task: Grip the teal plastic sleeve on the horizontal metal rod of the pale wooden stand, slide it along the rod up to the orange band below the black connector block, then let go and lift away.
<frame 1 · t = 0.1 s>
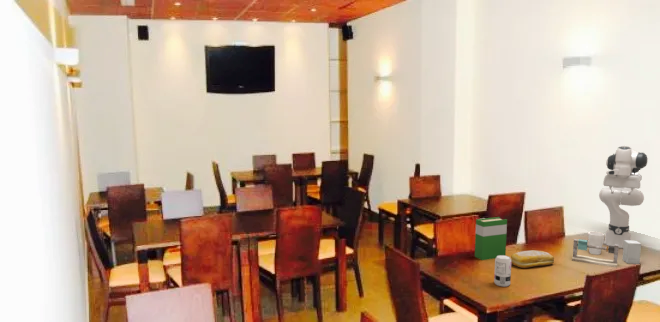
hand: (620, 194, 317), 39 cm above the table, tool pointing down, fingers open, 8 cm apart
green cereal box: (489, 257, 317), on the table
supplement can: (502, 284, 271), on the table
foam cup: (594, 253, 325), on the table
supplement box: (630, 262, 308), on the table
bread: (531, 265, 303), on the table
sleeve: (582, 244, 310), point 10 cm above the table, slide at 0.0 cm
rail stand: (594, 261, 308), on the table
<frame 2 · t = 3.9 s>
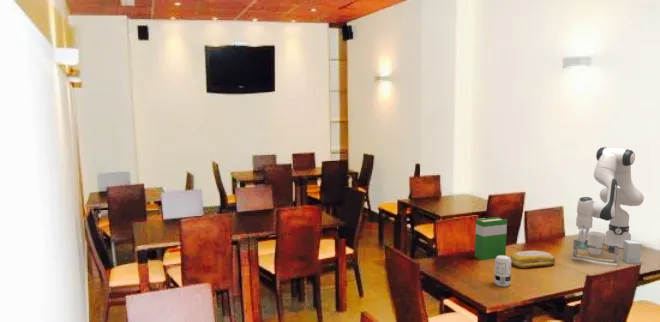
hand: (582, 245, 310), 9 cm above the table, tool pointing down, fingers closed on sleeve, 4 cm apart
sleeve: (582, 244, 310), point 10 cm above the table, slide at 0.0 cm, touching gripper
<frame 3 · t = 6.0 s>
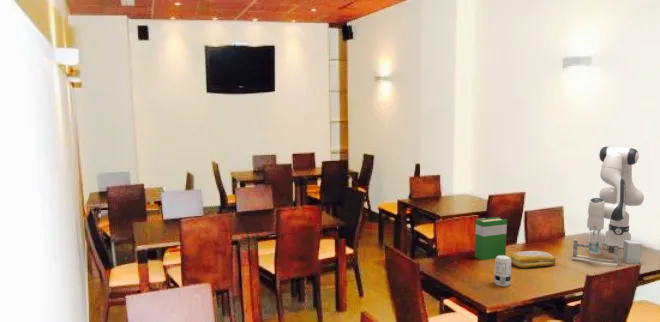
hand: (593, 247, 307), 9 cm above the table, tool pointing down, fingers closed on sleeve, 4 cm apart
sleeve: (593, 246, 307), point 10 cm above the table, slide at 6.1 cm, touching gripper
everything else where it was.
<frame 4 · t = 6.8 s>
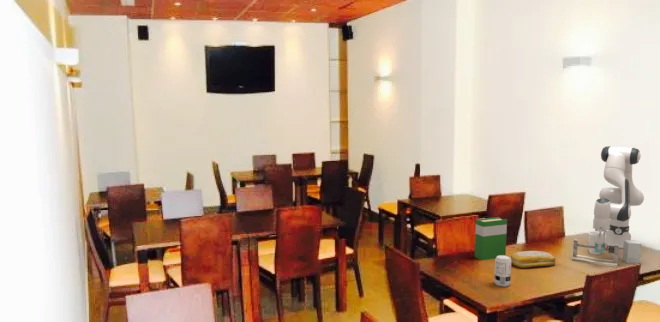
hand: (599, 248, 306), 9 cm above the table, tool pointing down, fingers closed on sleeve, 4 cm apart
sleeve: (599, 247, 305), point 10 cm above the table, slide at 9.3 cm, touching gripper
everything else where it was.
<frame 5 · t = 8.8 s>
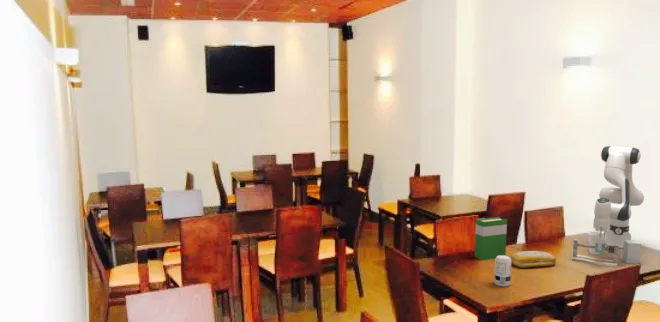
hand: (600, 247, 305), 9 cm above the table, tool pointing down, fingers open, 8 cm apart
sleeve: (600, 247, 305), point 10 cm above the table, slide at 9.5 cm
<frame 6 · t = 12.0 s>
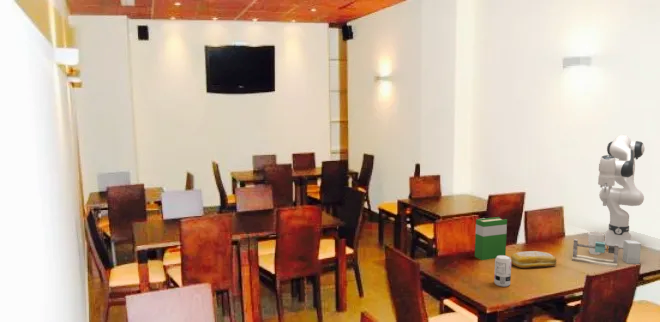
hand: (604, 204, 310), 34 cm above the table, tool pointing down, fingers open, 8 cm apart
at the end: sleeve slide at 9.5 cm; the gripper is holding nothing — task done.
